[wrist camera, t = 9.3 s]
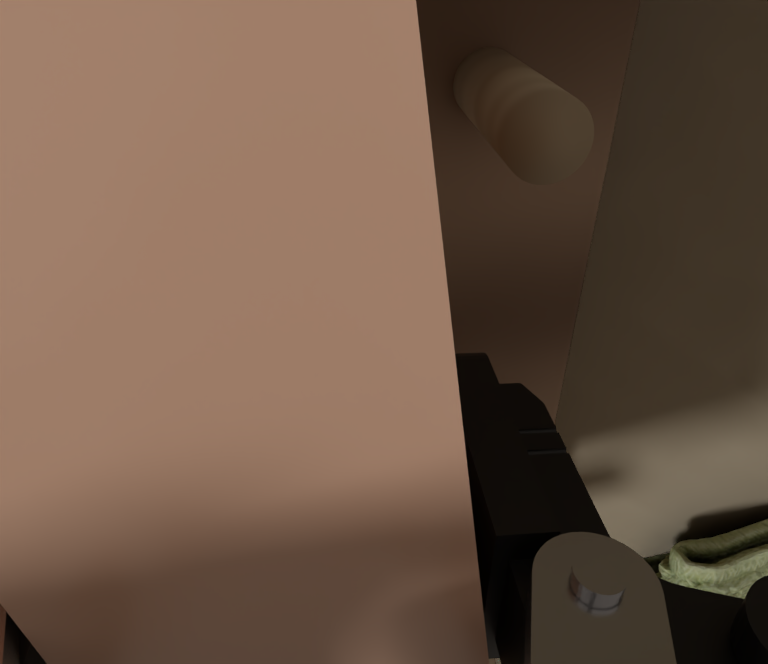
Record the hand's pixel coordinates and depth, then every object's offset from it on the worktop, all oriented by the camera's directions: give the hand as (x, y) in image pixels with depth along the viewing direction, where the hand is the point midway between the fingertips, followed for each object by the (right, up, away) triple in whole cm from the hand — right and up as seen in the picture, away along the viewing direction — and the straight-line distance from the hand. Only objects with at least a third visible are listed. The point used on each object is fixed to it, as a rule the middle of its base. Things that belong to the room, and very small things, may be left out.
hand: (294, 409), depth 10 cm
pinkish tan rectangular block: (0, 0, +1) cm, 1 cm away
